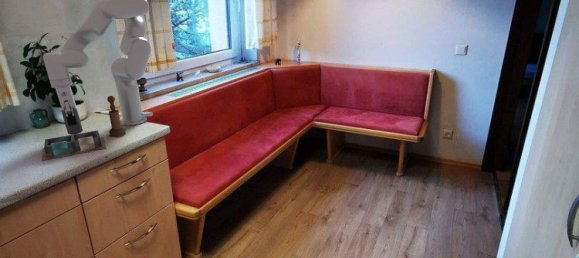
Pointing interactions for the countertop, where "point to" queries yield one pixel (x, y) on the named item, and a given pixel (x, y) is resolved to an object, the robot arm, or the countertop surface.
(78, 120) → the bottle
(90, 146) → the socket block
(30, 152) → the countertop surface
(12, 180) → the countertop surface
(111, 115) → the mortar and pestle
